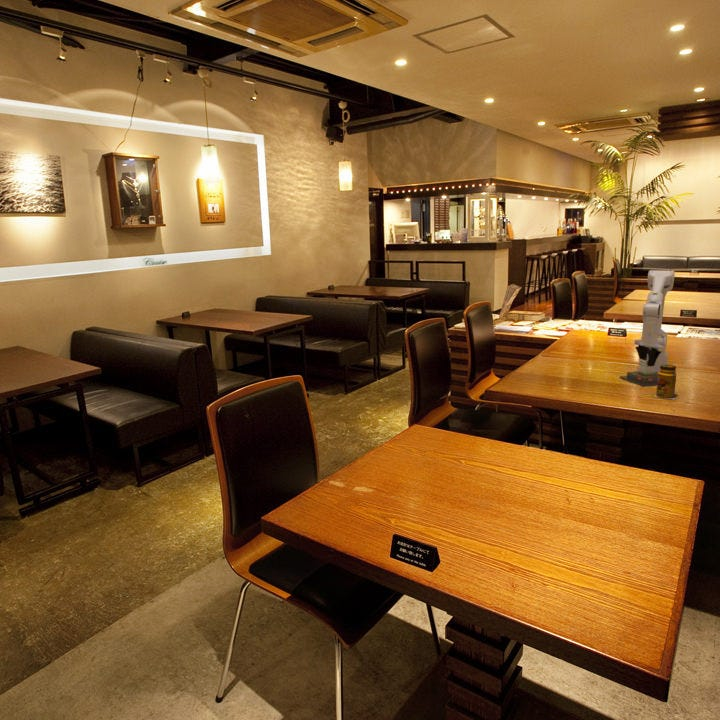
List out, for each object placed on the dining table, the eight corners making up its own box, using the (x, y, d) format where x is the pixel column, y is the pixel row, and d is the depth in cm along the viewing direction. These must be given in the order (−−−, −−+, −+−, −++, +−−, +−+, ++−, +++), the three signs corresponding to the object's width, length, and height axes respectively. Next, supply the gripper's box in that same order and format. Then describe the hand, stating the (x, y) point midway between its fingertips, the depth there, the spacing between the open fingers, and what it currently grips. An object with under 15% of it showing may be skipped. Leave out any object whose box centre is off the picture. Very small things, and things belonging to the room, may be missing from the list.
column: (646, 372, 230) (648, 357, 229) (654, 375, 226) (655, 360, 224) (637, 373, 229) (639, 358, 228) (645, 376, 225) (646, 361, 224)
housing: (647, 375, 236) (648, 368, 236) (672, 383, 223) (673, 376, 222) (619, 378, 233) (619, 371, 233) (643, 387, 220) (643, 379, 219)
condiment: (652, 396, 208) (655, 366, 205) (658, 391, 214) (661, 361, 211) (674, 400, 203) (677, 369, 200) (679, 394, 210) (682, 364, 207)
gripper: (629, 330, 229) (626, 361, 233) (655, 336, 216) (651, 369, 219) (643, 328, 231) (640, 360, 234) (670, 335, 217) (666, 368, 220)
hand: (646, 364), depth 227 cm, fingers closed on column, 4 cm apart
